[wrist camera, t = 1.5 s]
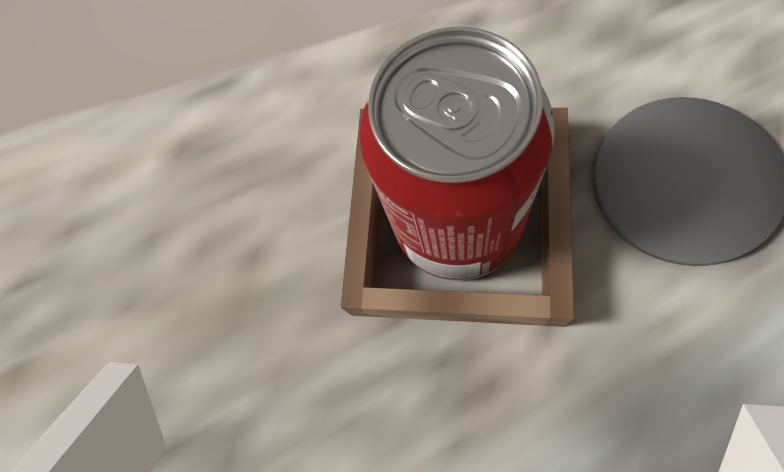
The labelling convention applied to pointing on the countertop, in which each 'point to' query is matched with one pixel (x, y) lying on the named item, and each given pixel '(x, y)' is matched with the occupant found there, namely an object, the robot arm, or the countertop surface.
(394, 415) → the countertop surface
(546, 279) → the frame
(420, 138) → the soda can
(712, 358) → the countertop surface
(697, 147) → the coaster
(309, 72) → the countertop surface
